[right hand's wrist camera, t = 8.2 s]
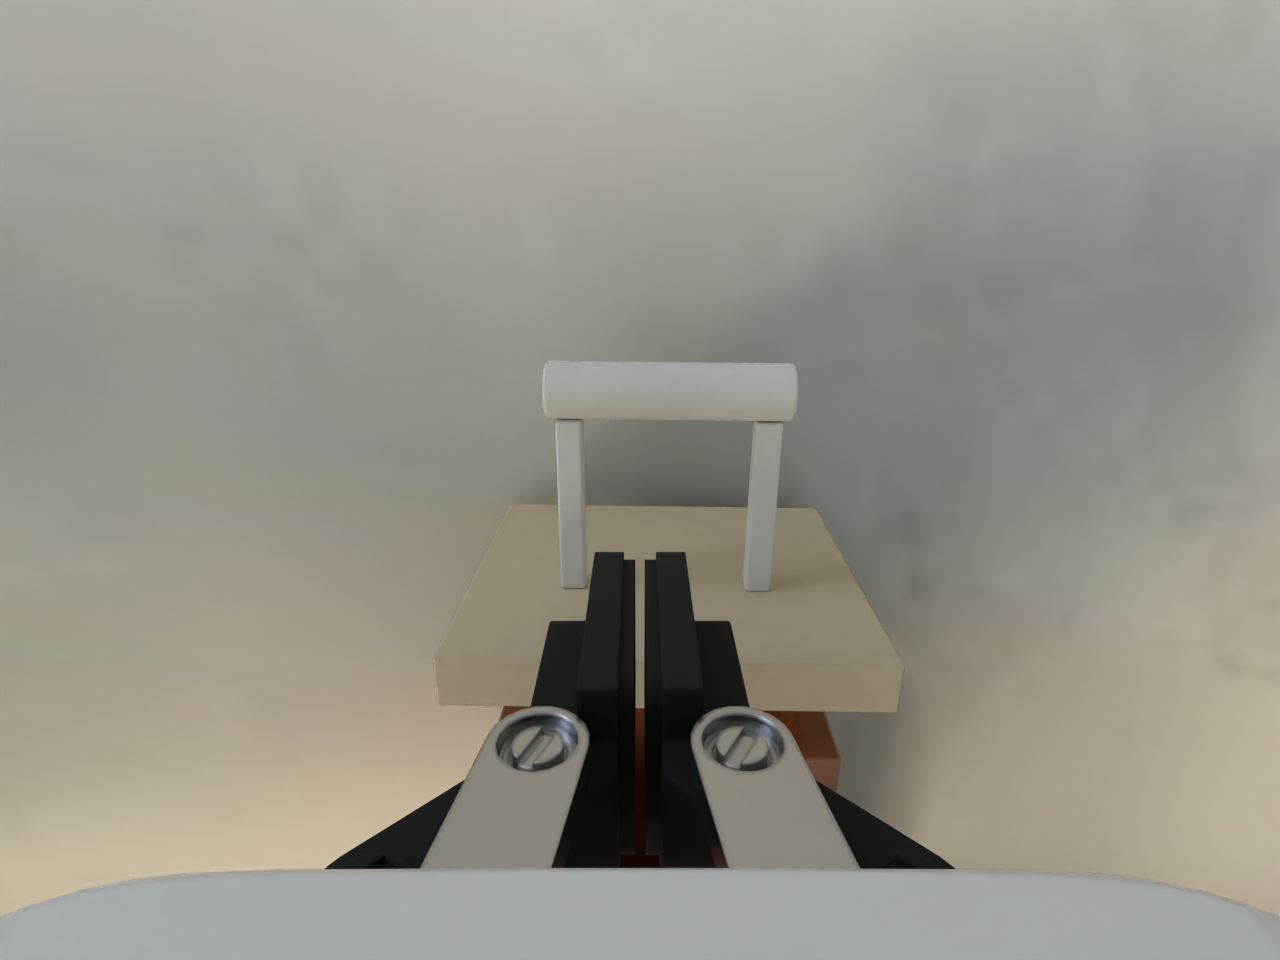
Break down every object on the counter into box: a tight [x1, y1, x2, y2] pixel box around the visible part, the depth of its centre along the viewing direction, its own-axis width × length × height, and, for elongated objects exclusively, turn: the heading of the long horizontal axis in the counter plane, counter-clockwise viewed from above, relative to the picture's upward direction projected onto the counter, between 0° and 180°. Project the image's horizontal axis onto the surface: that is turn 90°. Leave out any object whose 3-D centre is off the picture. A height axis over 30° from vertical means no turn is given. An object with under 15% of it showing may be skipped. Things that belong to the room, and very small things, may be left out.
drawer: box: [433, 361, 905, 868], centre depth 20 cm, size 22×10×8 cm, turn 0°
